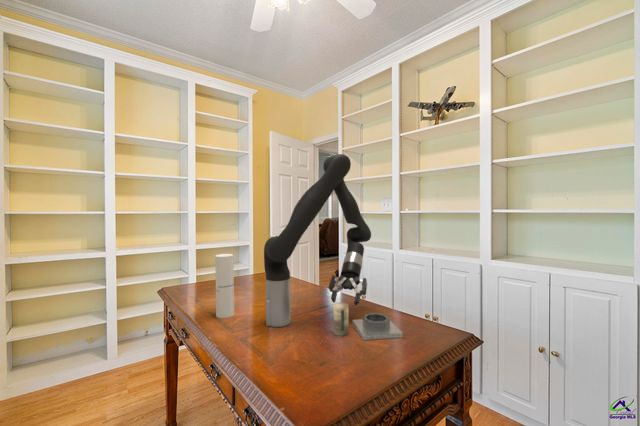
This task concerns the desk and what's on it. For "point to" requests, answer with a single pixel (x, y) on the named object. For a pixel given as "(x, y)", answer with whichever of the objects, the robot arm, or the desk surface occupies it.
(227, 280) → the cylindrical container
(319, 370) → the desk surface
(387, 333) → the socket plate
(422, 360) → the desk surface
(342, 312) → the cream rounded cylinder
